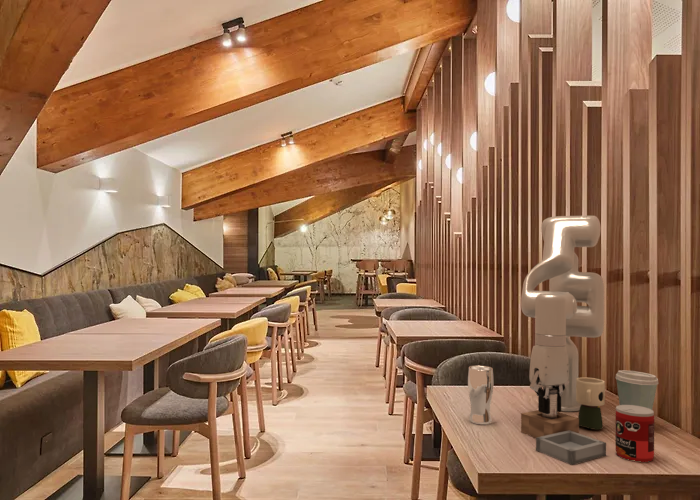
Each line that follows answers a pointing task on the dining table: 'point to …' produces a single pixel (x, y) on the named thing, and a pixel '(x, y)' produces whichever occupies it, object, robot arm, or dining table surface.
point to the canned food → (635, 433)
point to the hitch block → (547, 424)
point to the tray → (571, 447)
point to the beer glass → (480, 393)
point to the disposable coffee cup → (636, 388)
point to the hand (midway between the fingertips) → (549, 410)
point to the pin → (552, 404)
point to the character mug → (590, 401)
